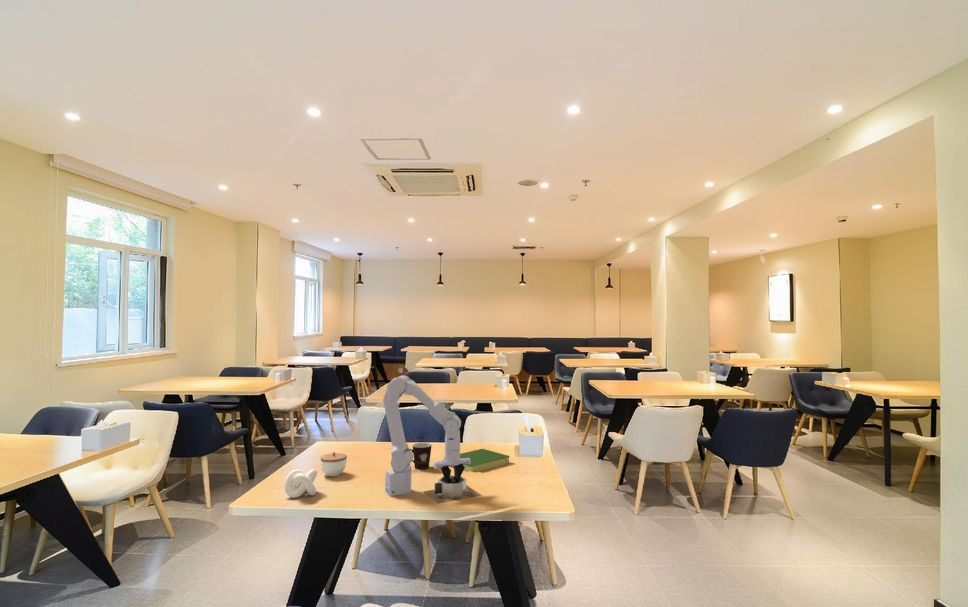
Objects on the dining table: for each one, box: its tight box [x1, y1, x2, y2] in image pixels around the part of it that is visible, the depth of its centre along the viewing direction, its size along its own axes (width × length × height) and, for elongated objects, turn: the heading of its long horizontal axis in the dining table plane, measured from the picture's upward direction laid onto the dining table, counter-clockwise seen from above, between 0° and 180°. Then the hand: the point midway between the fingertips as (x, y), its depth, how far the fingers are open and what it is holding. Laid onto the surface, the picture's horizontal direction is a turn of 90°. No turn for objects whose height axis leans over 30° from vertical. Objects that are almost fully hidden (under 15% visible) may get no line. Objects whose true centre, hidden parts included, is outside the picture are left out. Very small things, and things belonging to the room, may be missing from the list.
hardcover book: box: [443, 448, 511, 473], centre depth 220 cm, size 25×19×4 cm
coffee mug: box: [409, 442, 433, 471], centre depth 214 cm, size 12×9×10 cm
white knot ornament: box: [283, 468, 318, 499], centre depth 177 cm, size 11×12×9 cm
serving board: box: [422, 484, 482, 504], centre depth 178 cm, size 18×14×1 cm
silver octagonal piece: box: [434, 474, 467, 498], centre depth 177 cm, size 12×10×5 cm
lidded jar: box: [320, 451, 348, 478], centre depth 203 cm, size 11×11×9 cm
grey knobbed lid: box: [450, 477, 456, 484], centre depth 178 cm, size 7×7×5 cm
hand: (452, 485), depth 178 cm, fingers closed on grey knobbed lid, 3 cm apart
